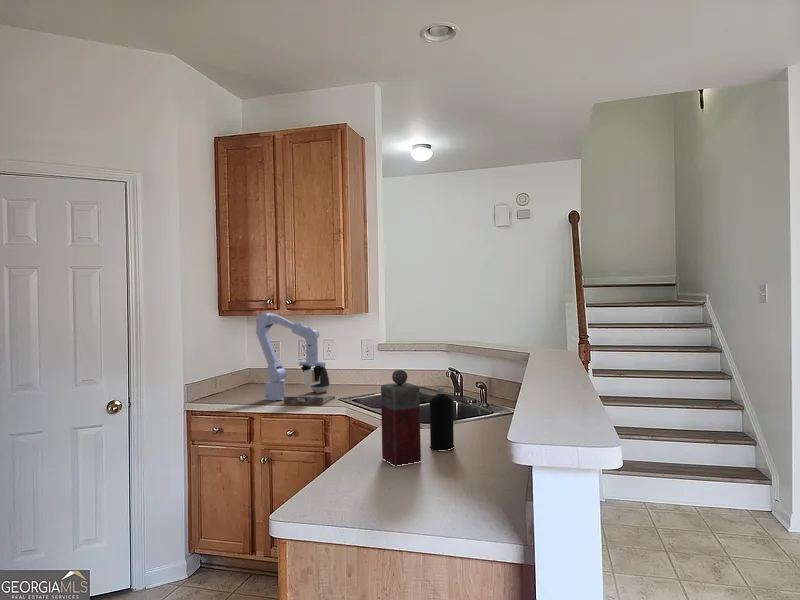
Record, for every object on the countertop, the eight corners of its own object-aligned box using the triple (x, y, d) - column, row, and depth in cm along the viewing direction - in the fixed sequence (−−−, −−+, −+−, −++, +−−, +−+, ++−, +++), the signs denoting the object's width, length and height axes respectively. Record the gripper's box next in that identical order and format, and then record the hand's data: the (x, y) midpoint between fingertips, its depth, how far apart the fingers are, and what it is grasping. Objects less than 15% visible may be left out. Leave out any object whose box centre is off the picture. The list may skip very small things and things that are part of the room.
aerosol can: (459, 449, 174) (458, 388, 174) (438, 453, 170) (437, 390, 170) (445, 443, 181) (444, 384, 181) (425, 447, 177) (423, 387, 177)
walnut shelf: (283, 403, 255) (283, 396, 255) (298, 397, 272) (298, 390, 272) (322, 404, 250) (322, 397, 250) (335, 397, 267) (335, 391, 267)
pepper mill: (403, 453, 170) (402, 366, 170) (421, 462, 161) (419, 370, 160) (378, 457, 166) (376, 368, 166) (395, 467, 156) (393, 372, 156)
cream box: (304, 385, 261) (303, 370, 261) (312, 382, 267) (312, 368, 267) (312, 385, 259) (312, 371, 259) (320, 383, 265) (320, 369, 265)
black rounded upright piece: (331, 390, 290) (331, 362, 290) (327, 393, 279) (326, 365, 279) (313, 390, 291) (312, 362, 291) (308, 393, 280) (307, 365, 280)
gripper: (328, 353, 263) (329, 380, 263) (305, 352, 270) (305, 378, 270) (320, 354, 257) (320, 382, 257) (296, 353, 263) (296, 380, 263)
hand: (312, 380), depth 263 cm, fingers closed on cream box, 5 cm apart
